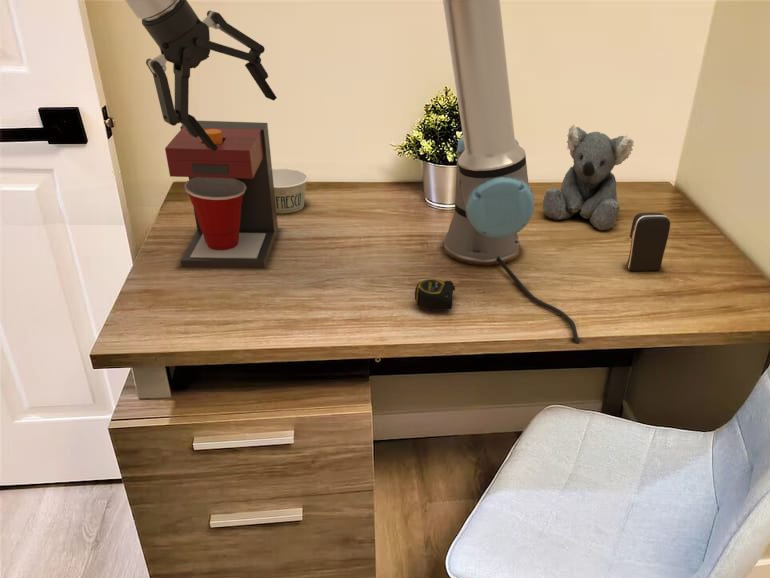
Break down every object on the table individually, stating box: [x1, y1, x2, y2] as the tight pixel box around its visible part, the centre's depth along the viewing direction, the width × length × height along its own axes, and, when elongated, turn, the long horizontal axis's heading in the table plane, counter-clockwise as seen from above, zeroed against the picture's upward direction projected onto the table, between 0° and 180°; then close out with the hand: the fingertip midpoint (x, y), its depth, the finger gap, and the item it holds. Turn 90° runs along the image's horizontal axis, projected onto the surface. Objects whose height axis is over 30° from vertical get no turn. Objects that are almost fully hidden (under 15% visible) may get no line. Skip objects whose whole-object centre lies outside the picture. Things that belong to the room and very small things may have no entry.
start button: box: [205, 129, 223, 144], centre depth 129 cm, size 3×3×2 cm
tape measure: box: [414, 278, 456, 312], centre depth 128 cm, size 7×7×4 cm
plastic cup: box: [183, 177, 247, 250], centre depth 138 cm, size 11×11×12 cm
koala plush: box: [542, 124, 635, 231], centre depth 165 cm, size 17×18×20 cm
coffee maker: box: [164, 120, 279, 269], centre depth 138 cm, size 18×15×22 cm
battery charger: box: [626, 211, 671, 272], centre depth 144 cm, size 7×4×11 cm, turn 100°
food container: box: [272, 167, 309, 214], centre depth 162 cm, size 12×12×6 cm
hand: (242, 122), depth 126 cm, fingers open, 13 cm apart
